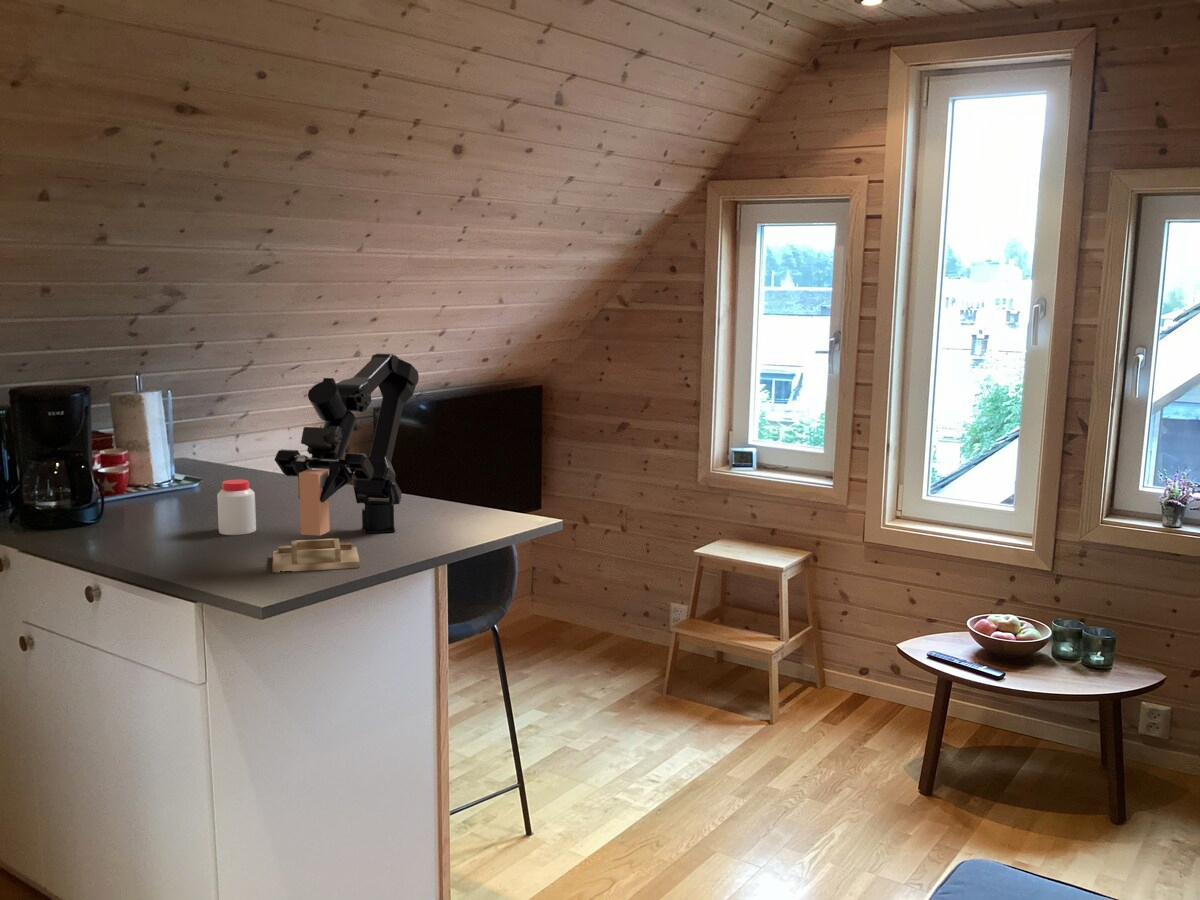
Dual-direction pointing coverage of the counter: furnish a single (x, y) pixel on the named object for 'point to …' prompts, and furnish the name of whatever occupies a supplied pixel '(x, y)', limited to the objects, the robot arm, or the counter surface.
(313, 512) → the block
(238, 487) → the pill bottle
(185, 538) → the counter surface
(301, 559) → the jig
